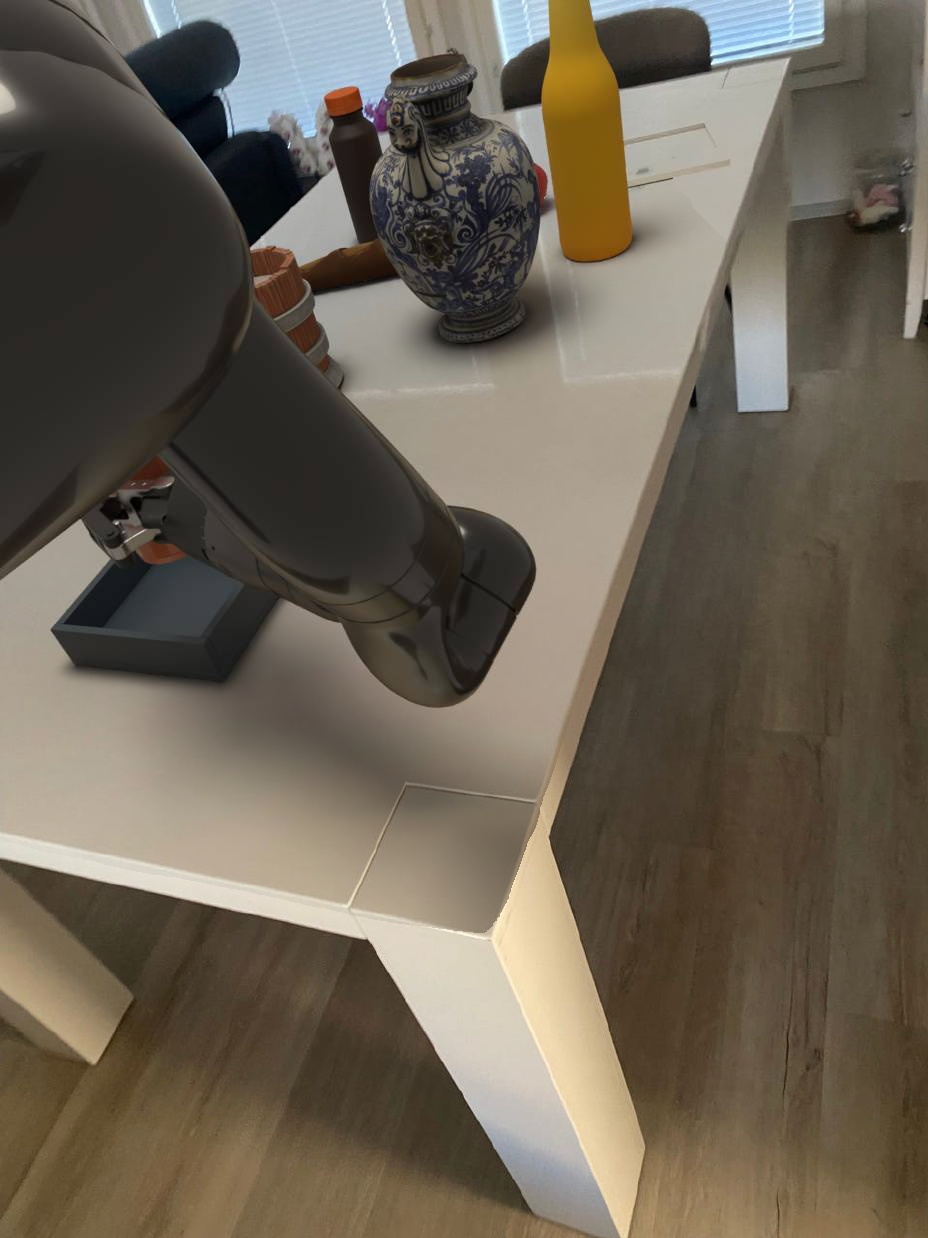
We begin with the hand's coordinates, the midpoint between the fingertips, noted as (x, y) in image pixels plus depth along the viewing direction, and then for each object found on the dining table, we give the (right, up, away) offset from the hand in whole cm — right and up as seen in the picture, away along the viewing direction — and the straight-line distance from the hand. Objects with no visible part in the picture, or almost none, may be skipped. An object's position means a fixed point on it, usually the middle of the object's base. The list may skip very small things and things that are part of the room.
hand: (118, 462), depth 70 cm
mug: (+2, +14, +42) cm, 45 cm away
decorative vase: (+27, +24, +45) cm, 58 cm away
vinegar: (+13, +45, +72) cm, 86 cm away
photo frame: (+56, +57, +72) cm, 107 cm away
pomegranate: (+33, +47, +68) cm, 89 cm away
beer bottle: (+43, +36, +54) cm, 77 cm away
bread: (+15, +36, +62) cm, 73 cm away
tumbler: (+3, -6, +3) cm, 7 cm away
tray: (+1, -10, +15) cm, 19 cm away
